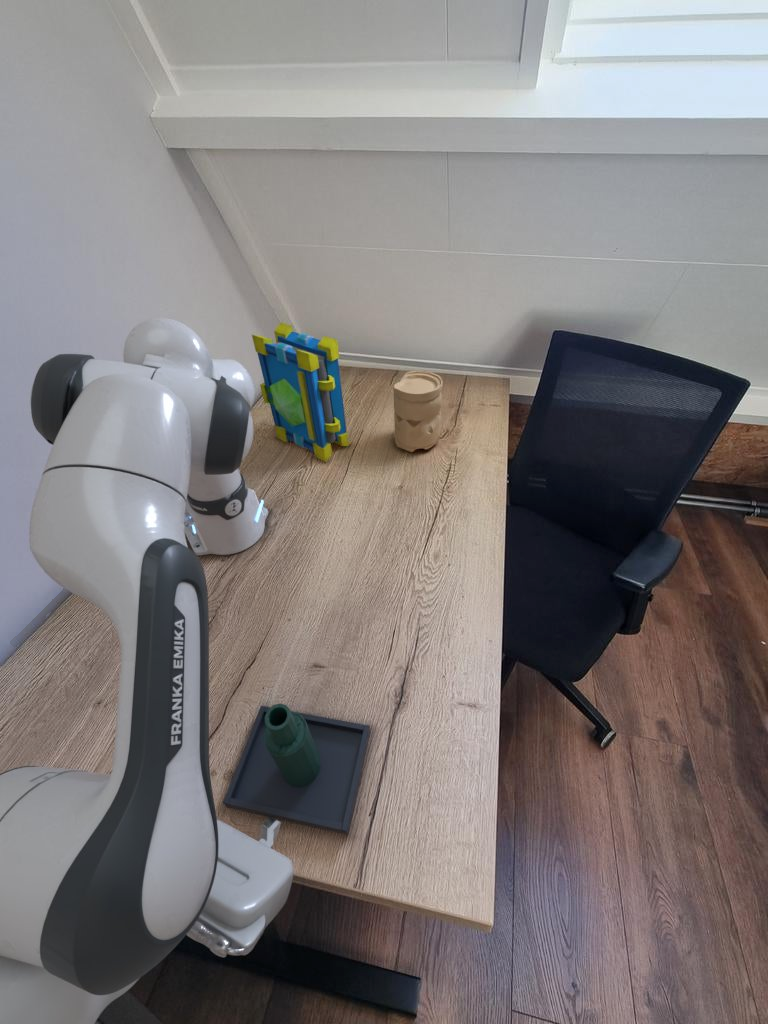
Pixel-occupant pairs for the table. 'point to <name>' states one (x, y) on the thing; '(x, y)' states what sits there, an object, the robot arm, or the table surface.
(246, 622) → the table surface
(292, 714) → the flask
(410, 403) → the container
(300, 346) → the decorative book
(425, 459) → the table surface
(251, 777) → the tray
